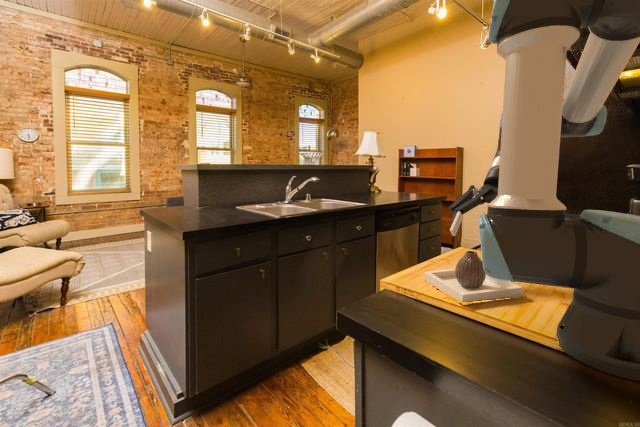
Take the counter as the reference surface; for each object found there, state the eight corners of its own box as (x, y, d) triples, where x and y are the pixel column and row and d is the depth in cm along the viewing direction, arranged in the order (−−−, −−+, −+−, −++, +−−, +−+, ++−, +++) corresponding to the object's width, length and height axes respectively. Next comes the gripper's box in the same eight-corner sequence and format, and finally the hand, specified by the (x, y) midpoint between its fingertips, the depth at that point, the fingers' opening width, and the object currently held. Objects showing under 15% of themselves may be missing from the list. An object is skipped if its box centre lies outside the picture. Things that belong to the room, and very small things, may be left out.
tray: (521, 297, 75) (522, 287, 75) (462, 305, 72) (462, 295, 72) (474, 274, 91) (475, 266, 90) (423, 280, 87) (424, 271, 87)
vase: (450, 286, 81) (451, 252, 80) (460, 278, 86) (462, 247, 85) (479, 293, 76) (481, 257, 75) (488, 285, 81) (490, 251, 80)
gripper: (557, 186, 84) (536, 253, 76) (461, 183, 102) (437, 237, 94) (554, 166, 80) (532, 235, 72) (454, 166, 98) (428, 222, 90)
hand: (478, 237), depth 83 cm, fingers open, 13 cm apart
